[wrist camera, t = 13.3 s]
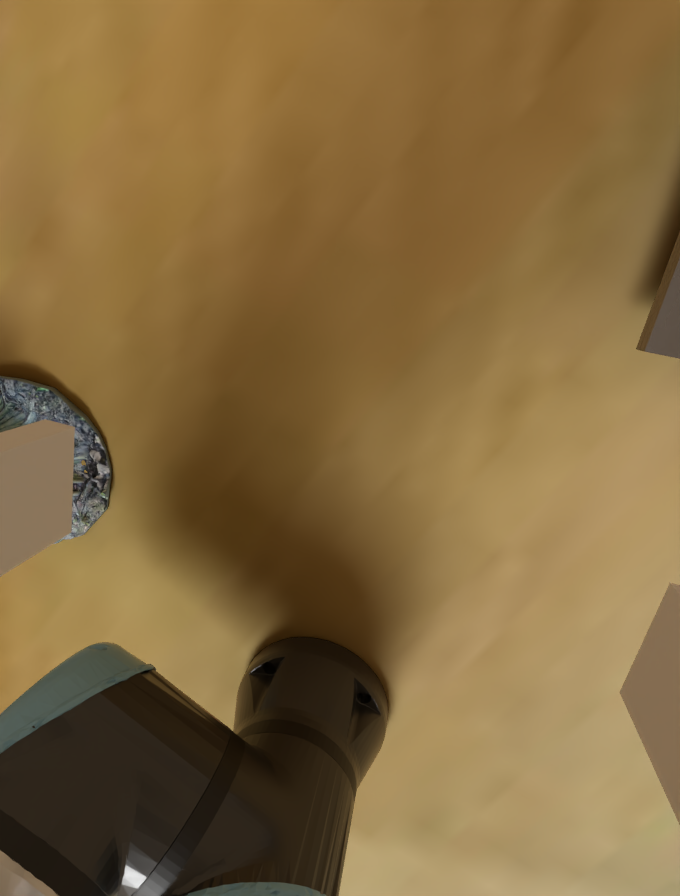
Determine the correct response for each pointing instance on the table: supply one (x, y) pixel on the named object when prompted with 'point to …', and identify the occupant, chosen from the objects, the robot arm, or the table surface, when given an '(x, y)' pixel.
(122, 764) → the robot arm
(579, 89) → the table surface
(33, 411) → the tree stump
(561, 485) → the table surface
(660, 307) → the display plinth
